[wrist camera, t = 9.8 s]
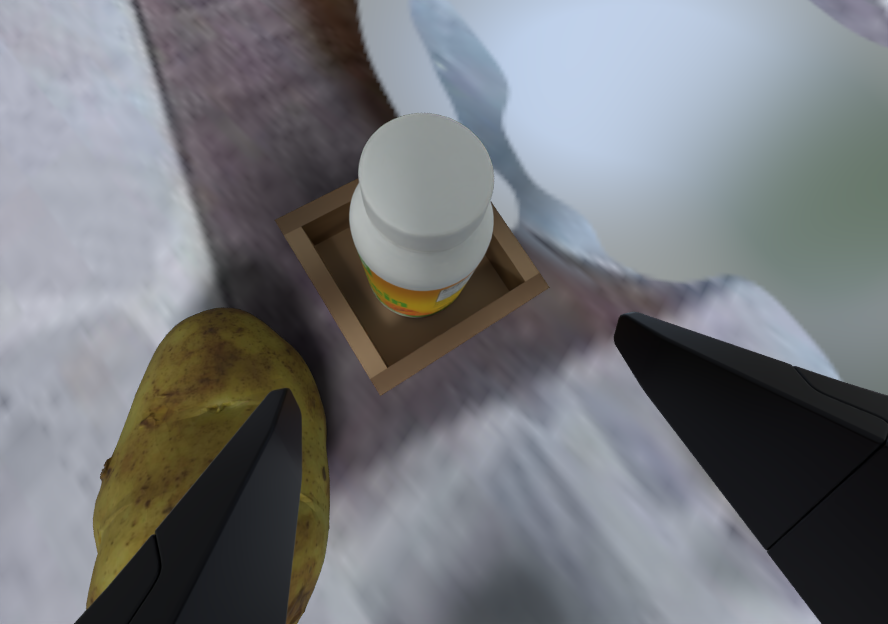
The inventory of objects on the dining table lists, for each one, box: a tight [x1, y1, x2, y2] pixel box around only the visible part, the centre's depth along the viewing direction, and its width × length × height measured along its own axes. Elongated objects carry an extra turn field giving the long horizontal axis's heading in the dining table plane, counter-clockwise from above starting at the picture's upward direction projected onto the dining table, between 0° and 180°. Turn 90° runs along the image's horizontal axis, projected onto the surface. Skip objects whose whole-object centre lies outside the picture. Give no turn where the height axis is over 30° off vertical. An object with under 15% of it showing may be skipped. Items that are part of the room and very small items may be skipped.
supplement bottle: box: [349, 113, 494, 318], centre depth 15 cm, size 5×5×10 cm
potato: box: [86, 308, 330, 624], centre depth 14 cm, size 8×13×8 cm, turn 175°
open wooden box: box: [275, 178, 550, 396], centre depth 19 cm, size 10×10×3 cm
